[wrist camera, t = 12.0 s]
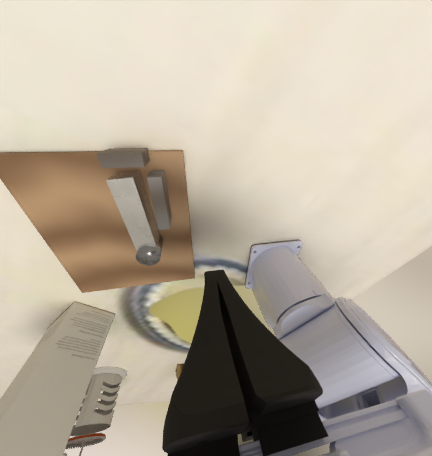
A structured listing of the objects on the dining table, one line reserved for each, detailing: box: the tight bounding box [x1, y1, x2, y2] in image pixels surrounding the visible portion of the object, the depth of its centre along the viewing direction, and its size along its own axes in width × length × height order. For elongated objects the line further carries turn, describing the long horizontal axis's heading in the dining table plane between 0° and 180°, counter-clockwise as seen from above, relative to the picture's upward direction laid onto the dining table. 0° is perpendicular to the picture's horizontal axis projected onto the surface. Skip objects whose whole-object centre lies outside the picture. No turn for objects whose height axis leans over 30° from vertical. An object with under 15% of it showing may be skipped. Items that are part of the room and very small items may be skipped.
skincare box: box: [0, 302, 115, 456], centre depth 19 cm, size 8×7×16 cm
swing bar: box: [106, 170, 163, 266], centre depth 16 cm, size 9×2×3 cm, turn 3°
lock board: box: [0, 148, 195, 293], centre depth 17 cm, size 17×15×4 cm
